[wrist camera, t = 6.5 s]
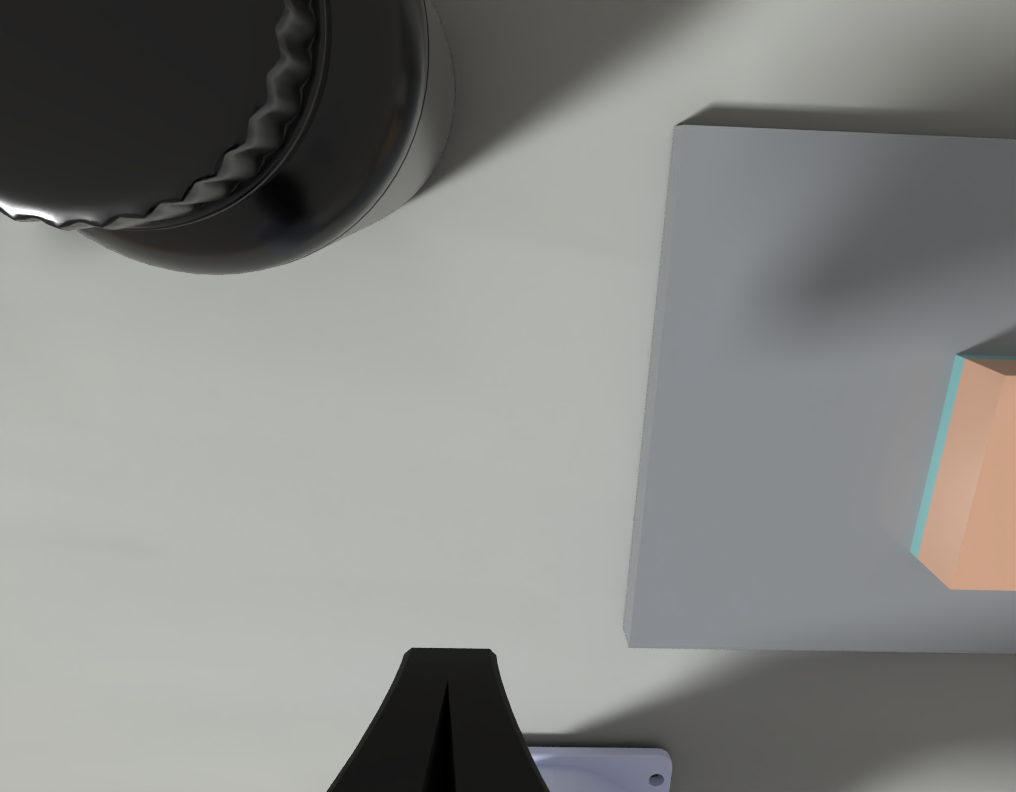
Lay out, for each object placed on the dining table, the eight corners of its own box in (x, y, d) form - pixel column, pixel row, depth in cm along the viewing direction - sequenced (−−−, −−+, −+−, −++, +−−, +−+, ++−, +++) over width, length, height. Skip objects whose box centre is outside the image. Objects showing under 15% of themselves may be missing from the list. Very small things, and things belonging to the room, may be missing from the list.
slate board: (1169, 637, 24) (1197, 656, 23) (623, 627, 24) (628, 647, 23) (1347, 155, 20) (1391, 155, 19) (674, 126, 19) (684, 124, 18)
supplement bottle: (445, -75, 17) (367, -510, 6) (465, 222, 20) (436, 316, 8) (152, -60, 17) (-489, -472, 6) (204, 236, 19) (-195, 351, 8)
